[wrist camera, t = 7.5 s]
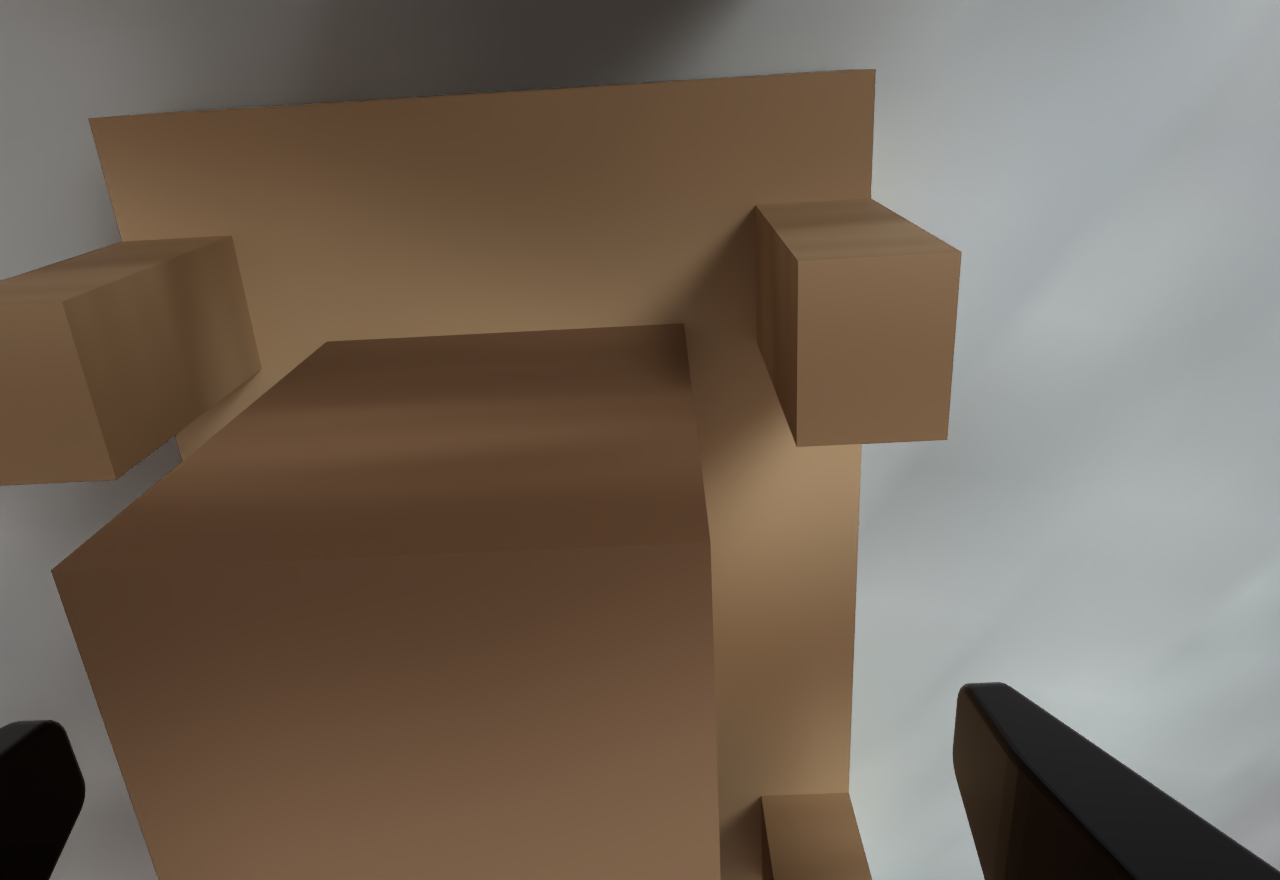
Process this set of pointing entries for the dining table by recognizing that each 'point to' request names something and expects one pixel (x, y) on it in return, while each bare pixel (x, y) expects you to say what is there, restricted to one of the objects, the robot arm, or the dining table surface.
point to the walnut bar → (422, 621)
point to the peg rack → (534, 301)
